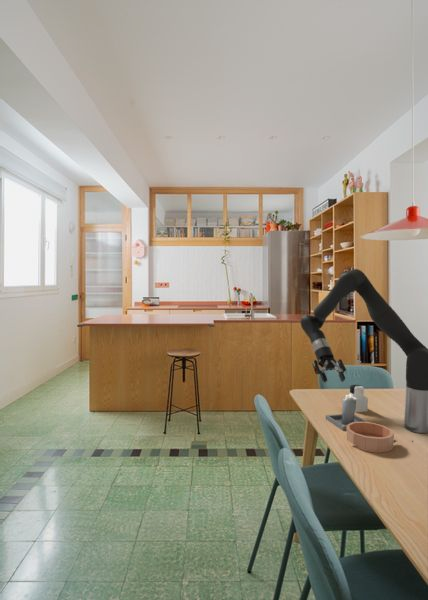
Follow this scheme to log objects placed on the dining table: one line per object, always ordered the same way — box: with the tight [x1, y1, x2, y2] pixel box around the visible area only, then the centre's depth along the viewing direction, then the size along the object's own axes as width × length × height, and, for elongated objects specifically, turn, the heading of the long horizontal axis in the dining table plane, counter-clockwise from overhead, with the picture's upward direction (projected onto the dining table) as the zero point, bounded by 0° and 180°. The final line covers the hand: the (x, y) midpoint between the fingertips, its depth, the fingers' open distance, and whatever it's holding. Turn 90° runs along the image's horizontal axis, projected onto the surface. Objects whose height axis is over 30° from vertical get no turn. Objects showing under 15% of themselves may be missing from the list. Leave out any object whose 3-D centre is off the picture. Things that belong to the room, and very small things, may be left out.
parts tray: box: [325, 413, 368, 431], centre depth 166 cm, size 13×13×2 cm
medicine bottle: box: [344, 384, 369, 414], centre depth 183 cm, size 7×7×12 cm
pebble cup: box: [341, 396, 356, 425], centre depth 165 cm, size 5×5×11 cm
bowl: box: [345, 421, 395, 454], centre depth 149 cm, size 16×16×5 cm
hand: (334, 381), depth 176 cm, fingers open, 8 cm apart
